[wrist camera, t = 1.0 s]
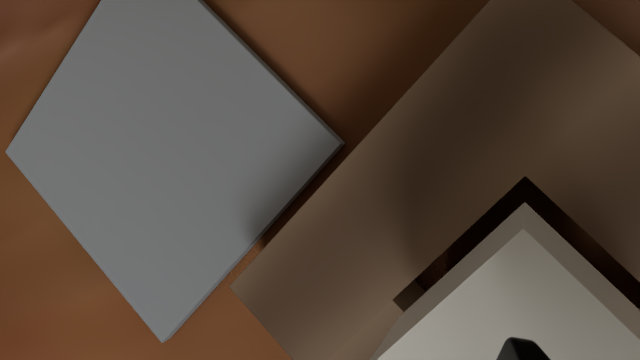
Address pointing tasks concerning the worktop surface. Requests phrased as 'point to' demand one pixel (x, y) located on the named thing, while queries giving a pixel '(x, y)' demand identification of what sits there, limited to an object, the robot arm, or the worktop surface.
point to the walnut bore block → (458, 174)
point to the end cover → (518, 303)
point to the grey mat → (168, 151)
